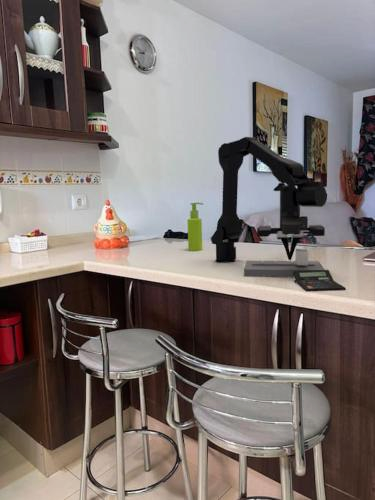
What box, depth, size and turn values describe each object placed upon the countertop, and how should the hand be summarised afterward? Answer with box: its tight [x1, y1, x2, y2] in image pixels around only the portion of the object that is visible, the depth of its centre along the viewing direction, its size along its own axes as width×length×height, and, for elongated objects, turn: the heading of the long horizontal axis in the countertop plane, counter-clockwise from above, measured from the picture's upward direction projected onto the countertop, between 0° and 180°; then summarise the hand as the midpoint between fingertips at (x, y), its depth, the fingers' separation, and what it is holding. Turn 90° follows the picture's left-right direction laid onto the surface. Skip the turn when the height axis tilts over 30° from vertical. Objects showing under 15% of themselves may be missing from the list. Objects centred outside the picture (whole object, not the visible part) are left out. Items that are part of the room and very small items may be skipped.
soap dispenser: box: [187, 202, 204, 252], centre depth 161 cm, size 6×7×20 cm
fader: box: [294, 247, 309, 265], centre depth 112 cm, size 3×6×4 cm, turn 168°
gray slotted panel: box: [243, 259, 326, 278], centre depth 114 cm, size 22×14×2 cm, turn 78°
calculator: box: [293, 269, 347, 292], centre depth 97 cm, size 9×12×3 cm
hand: (289, 259), depth 113 cm, fingers closed
